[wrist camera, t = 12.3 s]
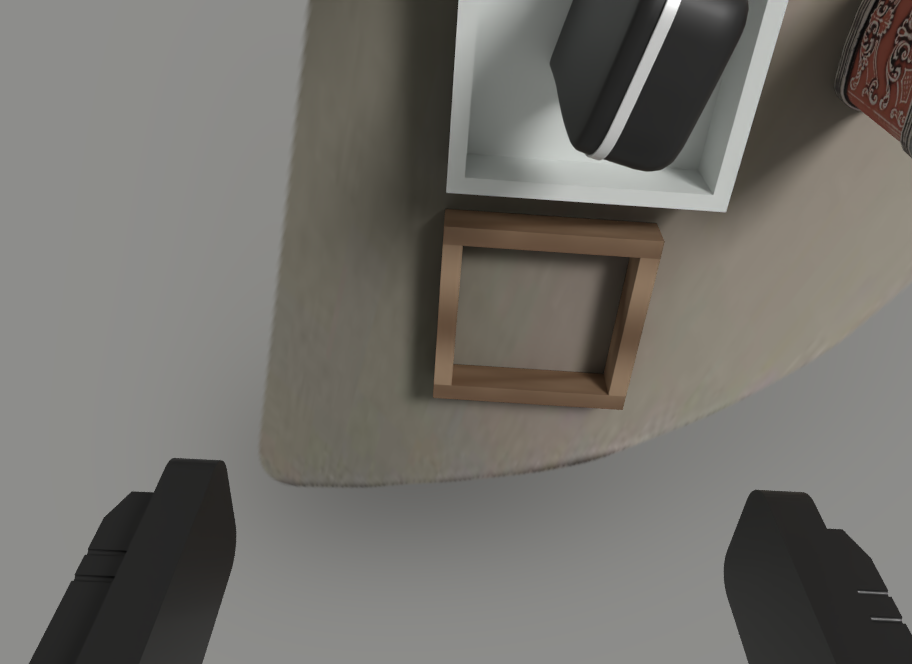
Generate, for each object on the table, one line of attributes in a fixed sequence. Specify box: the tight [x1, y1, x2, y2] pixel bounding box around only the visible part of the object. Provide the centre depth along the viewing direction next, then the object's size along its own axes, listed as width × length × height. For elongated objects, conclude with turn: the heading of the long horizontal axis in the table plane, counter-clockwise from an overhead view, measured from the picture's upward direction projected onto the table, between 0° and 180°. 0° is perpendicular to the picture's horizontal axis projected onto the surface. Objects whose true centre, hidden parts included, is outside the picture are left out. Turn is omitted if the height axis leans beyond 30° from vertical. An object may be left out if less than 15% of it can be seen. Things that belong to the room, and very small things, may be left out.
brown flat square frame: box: [433, 209, 665, 410], centre depth 42 cm, size 11×11×2 cm
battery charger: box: [549, 0, 749, 172], centre depth 29 cm, size 7×4×11 cm, turn 162°
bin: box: [446, 0, 788, 212], centre depth 32 cm, size 16×13×4 cm
